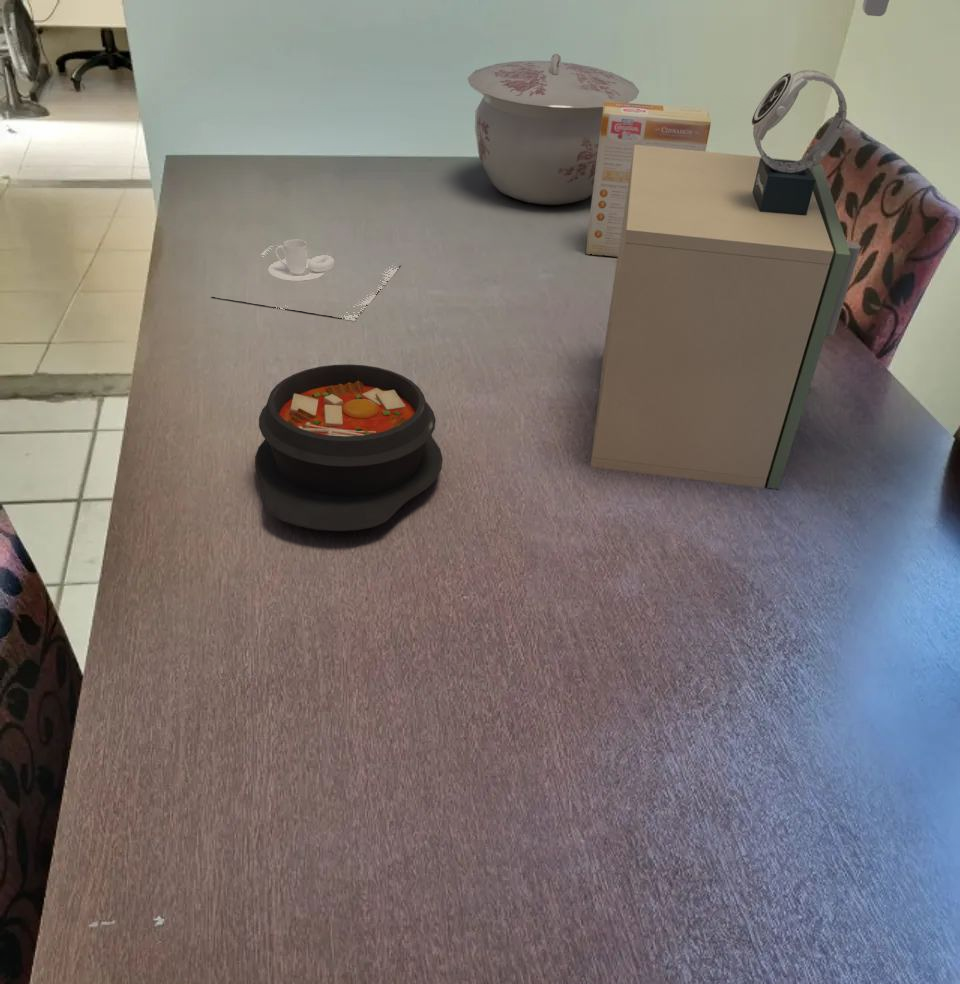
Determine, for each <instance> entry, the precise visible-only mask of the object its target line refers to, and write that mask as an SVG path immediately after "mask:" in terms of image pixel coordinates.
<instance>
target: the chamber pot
mask: <svg viewBox="0 0 960 984" xmlns="http://www.w3.org/2000/svg"><path fill="white" fill-rule="evenodd" d="M561 60H562V57H561V56H560V54H558V53H554V54H552V55H551V58H550V60H520V61H519V60H518V61H515V60H514V61H507V62H500V63H495V64H491V65H488V66H484V67H481V68H479V69H475V70H474V71H473V72H472V73H470V75H469V76H468V77H467V81H468V84H469V86H470V87H471V88H472V89H473V90H475V91H476V92H477V93H480V94H481V95H483V97H482V98H481V100H480V102H479V104H478V106H477V108H476V109H475V114H474V131H475V132H474V134H475V141H476V147H477V153H478V157H479V160H480V162H481V164H482V166H483V169H484V170H485V172H486V175H487V177H488V178H489V180H490V183H491V184H492V185H493V187H494V188H495V189H496V190H498V191H499V192H500V193H501V194H503V195H506V196H508V197H510V198H512V199H515V200H517V201H520V202H523V203H527V204H531V203H532V204H531V205H538V204H540V206H563V204H564V205H568V204H572V203H577V202H579V201H584V200H586V199H587V198H590V197H592V195H593V186H594V177H595V169H596V161H597V153H598V145H599V137H600V128H601V120H602V113H603V106H604V102H605V101H611V102H622V103H631V102H633V101H634V100H636V99H637V98H638V95H639V93H640V90H639V88H638V87H637V86H636V85H635V83H633V81H631V80H629V79H627V78H625V77H623V76H621V75H618V74H616V73H614V72H612V71H609V70H604V69H601V68H598V67H593V66H588V65H583V64H577V63H572V62H564V61H561Z"/></svg>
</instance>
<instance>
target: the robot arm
mask: <svg viewBox="0 0 960 984" xmlns="http://www.w3.org/2000/svg"><path fill="white" fill-rule="evenodd" d="M889 2H890V0H863V2H862V11H863V12H864V14H865V15H866V16H869V17H870V16H871V17H882V16H883V15H885V13H886V12H887V10H888V5H889Z"/></svg>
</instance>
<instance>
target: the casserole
mask: <svg viewBox="0 0 960 984" xmlns="http://www.w3.org/2000/svg"><path fill="white" fill-rule="evenodd" d="M436 421H437V419H436V416H435V412H434V411H433V409H432V407H431V405H430V404H429V403H428V402H427V400H426V397H425V395H424V393H423V391H422V390H421V388H420V386H418V385H417V384H415V383H414V381H412V380H411V379H409V378H407V377H406V376H404V375H402V374H400V373H398V372H395V371H392V370H389V369H386V368H381V367H377V366H372V365H364V364H352V363H351V364H331V365H330V364H329V365H321V366H317V367H312V368H308V369H304V370H302V371H299V372H296V373H294V374H292V375H290V376H287V377H286V378H284V379H283V380H281V381H280V382H279V383H277V384H276V385H275V386H274V388H272V390H271V391H270V393H269V395H268V398H267V402H266V404H265V406H263V408H262V409H261V411H260V414H259V417H258V428H259V431H260V433H261V435H262V437H263V438H264V440H263V441H262V442H261V444H260V445H259V446H258V448H257V450H256V453H255V456H254V467H255V471H256V473H257V476H258V479H259V480H260V483H261V486H262V499H263V508H264V509H265V510H266V512H267V513H268V514H269V515H270V516H272V517H274V518H276V519H277V520H280V521H281V522H284V523H287V524H291V525H293V526H296V527H300V528H306V529H312V530H316V531H328V532H329V531H330V532H331V531H332V532H344V531H345V532H346V531H347V532H349V531H360V530H365V529H371V528H375V527H378V526H380V525H382V524H384V523H387V522H388V521H389V520H390V519H391V518H392V517H393V516H394V515H395V514H396V513H397V512H398V511H399V510H400V509H401V508H402V506H404V505H405V504H406V503H407V502H409V501H410V500H412V499H414V497H416V496H418V495H419V494H421V493H423V492H424V491H426V490H427V489H428V488H430V486H431V485H433V484H434V482H435V481H436V480H437V479H438V477H439V475H440V473H441V470H442V469H443V459H444V458H443V454H442V451H441V448H440V447H439V445H438V443H437V442H436V440H435V439H434V437H433V436H432V434H433V432H434V431H435V429H436Z"/></svg>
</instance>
